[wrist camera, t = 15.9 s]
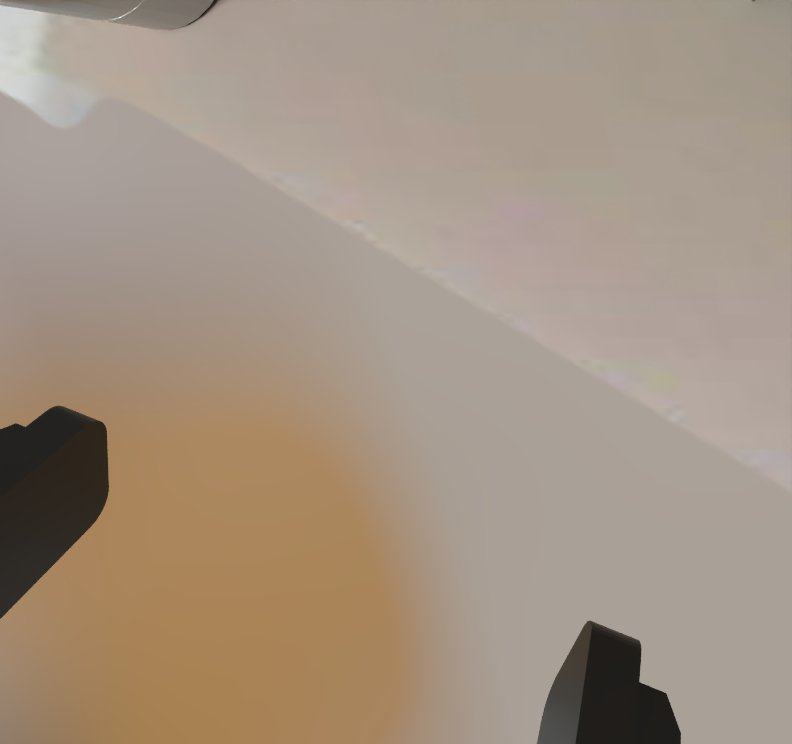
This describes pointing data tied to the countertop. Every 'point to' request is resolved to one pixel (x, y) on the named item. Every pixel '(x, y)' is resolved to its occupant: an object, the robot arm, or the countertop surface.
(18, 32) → the countertop surface
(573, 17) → the countertop surface
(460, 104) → the countertop surface
